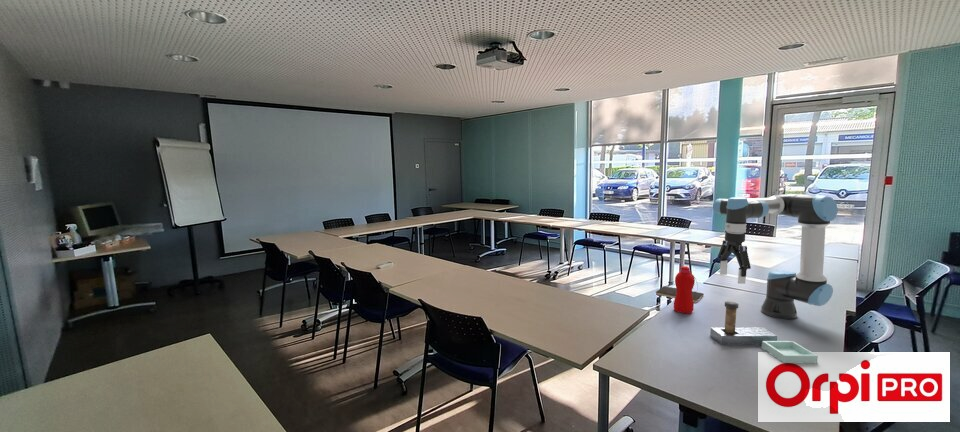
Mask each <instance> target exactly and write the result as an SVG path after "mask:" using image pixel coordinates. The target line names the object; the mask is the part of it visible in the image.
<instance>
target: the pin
mask: <svg viewBox="0 0 960 432" xmlns="http://www.w3.org/2000/svg"><path fill="white" fill-rule="evenodd" d="M724 307H725V314H724V315H725V316H724V317H725V319H724V328H725V330H724V332H725V333H726V334H735V328H736V324H737V323H736V322H737V321H736V320H737V309H739V303H737V302H735V301H729V300H727V301H724Z"/></svg>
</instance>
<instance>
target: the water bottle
mask: <svg viewBox="0 0 960 432" xmlns="http://www.w3.org/2000/svg"><path fill="white" fill-rule="evenodd" d="M679 269H680V271H679V272H678V273H677V274H676V275H675V277H674V284H675V288H676V289H677V294H676V297H675V298H674V301H673V309H674V311H675V312H676V313H683V314H688V315H689V314H691V313H693V311H694V303H695V302H693V298H692V291H693V290H694V287H695V283H698V282H697V280H696V277H695V275H694V274H693V273H692V271H691V268H690V267H689V266H685V265H684V266H680V268H679ZM696 286H697V288H696V289H697V290H695V292H698V289H699V286H698V284H696Z"/></svg>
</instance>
